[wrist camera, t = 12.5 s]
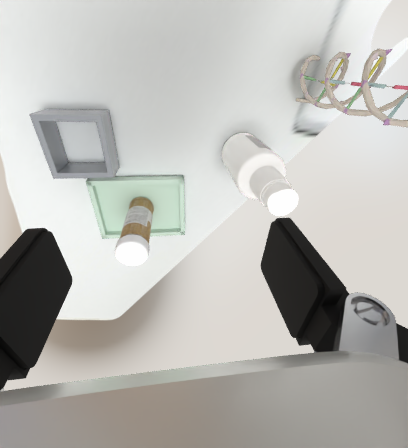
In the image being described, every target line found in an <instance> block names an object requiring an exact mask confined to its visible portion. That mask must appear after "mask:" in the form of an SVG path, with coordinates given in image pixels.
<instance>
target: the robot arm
mask: <svg viewBox="0 0 408 448" xmlns="http://www.w3.org/2000/svg"><path fill="white" fill-rule="evenodd" d="M261 270H262V272H263V275H264V277H265V279H266V281H267V283H268V286H269V288H270V290H271V292H272V294H273V297H274V299H275V301H276V303H277V306H278V308H279V310H280V312H281V314H282V317H283V319H284V321H285V323H286V326H287V328H288V330H289V332H290V334H291V336H292V337H293V338H296V340H297V342H298V344H299V345H309V344H311V345H312V347H313V349H314V353H308V354H298V355H288V356H279V357H270V358H261V359H253V360H245V361H236V362H228V363H219V364H211V365H203V366H195V367H186V368H179V369H171V370H162V371H154V372H147V373H139V374H131V375H122V376H114V377H107V378H98V379H91V380H83V381H76V382H68V383H59V384H52V385H44V386H36V387H29V388H22V389H15V390H8V391H4V388H3V387H4V386H5V383H6V382H7V380H14V379H23V378H26V376H27V374H28V372H29V369H30V368H32V367H34V366H35V364H36V362H37V361H38V358H39V356H40V354H41V352H42V349H43V347H44V345H45V343H46V340H47V338H48V336H49V334H50V332H51V329H52V327H53V325H54V323H55V320H56V318H57V316H58V314H59V312H60V309H61V307H62V305H63V303H64V300H65V298H66V296H67V294H68V291H69V289H70V287H71V285H72V276H71V274H70V271H69V269H68V267H67V265H66V262H65V260H64V258H63V256H62V254H61V251H60V249H59V247H58V245H57V242H56V240H55V238H54V236H53V234H52V232H50V231H48V230H47V229H45V228H35V229H27V230H25V231H24V233H23V234H22V235H21V236H20V237H19V238H18V239H17V241H16V242H15V243H14V244H13V245H12V246H11V247H10V249H9V250H8V251H7V252H6V253H5V254H4V255H3V256H2V258H1V259H0V448H408V329H407V328H405V327H403V326H401V325H399V324H397V323H396V320H395V317H394V315H393V313H392V312H391V310H390V309H389V308H388V307H387V306H386V305H385V304H384V303H382V302H381V301H379V300H378V299H376V298H374V297H372V296H370V295H367V294H364V293H351V294H349V293H348V292H347V290H346V287H345V286H344V285H343V283H342V282H341V281H340V280H339V278H338V277H337V276H336V275H335V273H334V272H333V271H332V270H331V268H330V267H329V266H328V265H327V263H326V262H325V261H324V260H323V258H322V257H321V256H320V255H319V253H318V252H317V251H316V250H315V248H314V247H313V246H312V245H311V243H310V242H309V241H308V240H307V238H306V237H305V236H304V235H303V233H302V232H301V231H300V230H299V228H298V227H297V226H296V225H295V223H294V222H293V221H292V220H291V219H290V218H277V219H276V220H275V221H274V222H272V223H271V226H270V230H269V234H268V238H267V242H266V246H265V250H264V254H263V258H262V261H261Z"/></svg>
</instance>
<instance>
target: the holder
mask: <svg viewBox="0 0 408 448" xmlns="http://www.w3.org/2000/svg"><path fill="white" fill-rule="evenodd" d="M30 117H31V120H32V123H33V125H34V128H35V131H36V133H37V136H38V139H39V141H40V144H41V147H42V149H43V152H44V155H45V157H46V160H47V163H48V165H49V168H50V171H51V173H52V176H53V179H55V178H111V177H115V175H116V173H117V171H118V169H119V161H118V156H117V151H116V145H115V140H114V135H113V129H112V124H111V119H110V113H109V110H76V109H44V110H41V111H38V112H35V113H31V114H30ZM56 121H65V122H96V123H97V127H98V132H99V136H100V141H101V145H102V150H103V154H104V159H105V162H90V163H69V162H68V159H67V156H66V153H65V150H64V146H63V143H62V140H61V137H60V134H59V131H58V127H57V124H56Z"/></svg>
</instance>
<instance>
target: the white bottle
mask: <svg viewBox="0 0 408 448" xmlns="http://www.w3.org/2000/svg"><path fill="white" fill-rule="evenodd" d="M222 161H223V163H224V165H225V167H226V168H227V170H228V172H229V173H230V175H231V177H232V179H233V180H234V182H235V184H236V185H237V187H238V189H239V191H240V192H241V193H242V194H243V195H244V196H245V197H247V198H250V199H255V200H256V199H257V200H259V201H260V202H261V204H262V205H264V206H265V207H267V209H268V210H269V211H270V212H271V213H272V214H273V215H276V216H283V215H286V214H288V213H290V212H291V211H293V210H294V209H295V207H296V206H297V203H298V194H297V193H296V192H295V191H294V190H293V189H292V187H291V185H290V183H289V182H288V181H287V180H286V179H285V176H286V167H285V164H284V162H283V160H282V159H281V158H280V157H279V156H278V155H277V154H276V153H275V152H274V151H272V150H271V149H270V148H268V147H267V146H266V145H265V144H263V143H262V142H261V141H260V140H258V139H257V138H256V137H254V136H253V135H251V134H249V133H238V134H235V135H233V136H232V137H230V138H229V139H228V140H227V141H226V143H225V144H224V147H223V149H222Z"/></svg>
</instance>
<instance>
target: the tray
mask: <svg viewBox="0 0 408 448" xmlns="http://www.w3.org/2000/svg"><path fill="white" fill-rule="evenodd" d="M86 184H87V187H88V191H89V194H90V198H91V201H92V205H93V208H94V212H95V215H96V219H97V222H98V226H99V229H100V233H101V236H102V239H109V238H120V236H121V233H122V228H123V225H124V222H125V219H126V215H127V212H128V211H129V205H130V202H131V201H132V200H133V199H135V198H137V197H143V198H147V199H148V200H150V201H151V202H152V204H153V206H154V211H153V215H152V217H153V218H152V226H151V233H150V236H168V235H185V217H184V177H183V175H172V176H115V177H111V178H88V179H87V180H86Z"/></svg>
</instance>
